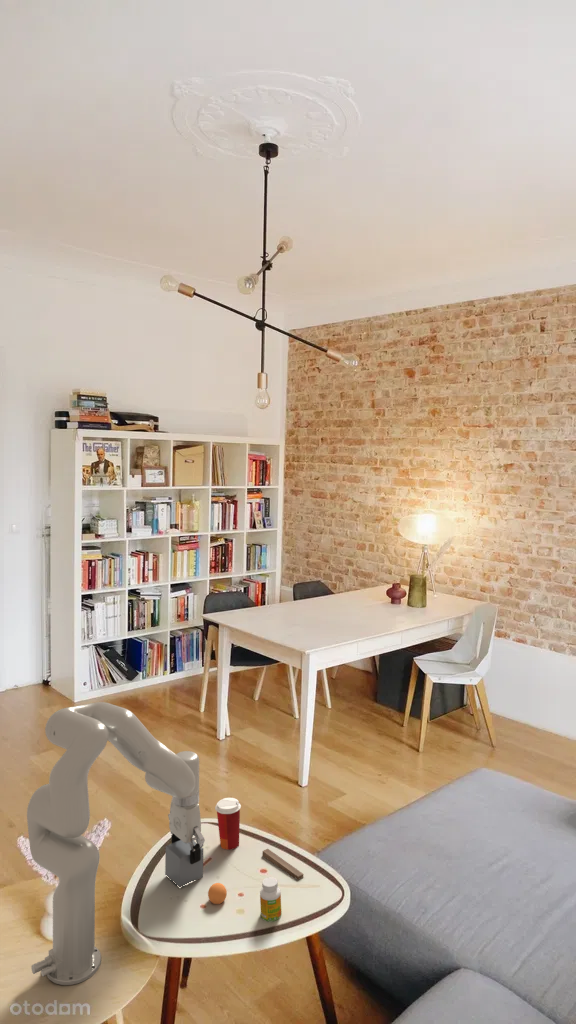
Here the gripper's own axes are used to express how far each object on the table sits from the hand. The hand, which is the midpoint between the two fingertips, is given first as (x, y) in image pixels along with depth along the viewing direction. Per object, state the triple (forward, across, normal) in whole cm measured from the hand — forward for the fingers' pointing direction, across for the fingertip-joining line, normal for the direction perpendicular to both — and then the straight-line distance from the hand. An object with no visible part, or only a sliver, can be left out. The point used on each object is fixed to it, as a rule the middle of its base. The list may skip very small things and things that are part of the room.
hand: (185, 854), depth 193 cm
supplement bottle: (+7, +29, +8) cm, 31 cm away
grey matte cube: (+6, 0, -1) cm, 7 cm away
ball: (+4, +15, 0) cm, 16 cm away
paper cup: (+7, -4, +18) cm, 20 cm away
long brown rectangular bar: (+7, +15, +23) cm, 29 cm away
